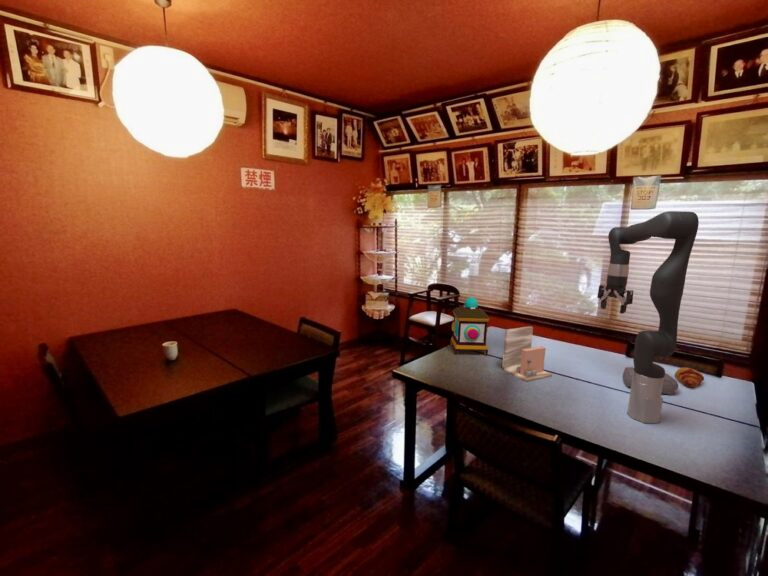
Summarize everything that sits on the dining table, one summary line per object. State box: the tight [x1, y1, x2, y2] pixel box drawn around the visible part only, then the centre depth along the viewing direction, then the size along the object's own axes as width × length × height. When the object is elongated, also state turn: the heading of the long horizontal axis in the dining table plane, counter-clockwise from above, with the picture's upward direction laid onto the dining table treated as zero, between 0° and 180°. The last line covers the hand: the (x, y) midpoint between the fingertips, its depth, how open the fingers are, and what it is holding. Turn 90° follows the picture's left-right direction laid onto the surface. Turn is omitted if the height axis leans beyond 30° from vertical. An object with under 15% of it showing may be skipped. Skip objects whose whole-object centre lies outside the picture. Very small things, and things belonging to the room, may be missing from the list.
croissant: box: [674, 366, 705, 388], centre depth 171 cm, size 21×10×8 cm, turn 145°
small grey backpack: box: [622, 366, 679, 395], centre depth 163 cm, size 15×8×20 cm
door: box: [520, 345, 546, 376], centre depth 173 cm, size 3×12×12 cm, turn 114°
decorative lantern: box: [450, 296, 490, 356], centre depth 204 cm, size 20×20×30 cm
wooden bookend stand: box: [501, 326, 553, 383], centre depth 175 cm, size 16×16×20 cm
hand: (612, 310), depth 163 cm, fingers open, 8 cm apart
